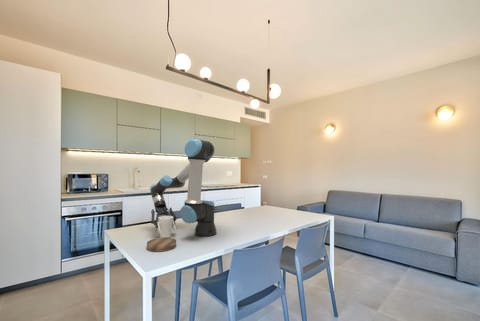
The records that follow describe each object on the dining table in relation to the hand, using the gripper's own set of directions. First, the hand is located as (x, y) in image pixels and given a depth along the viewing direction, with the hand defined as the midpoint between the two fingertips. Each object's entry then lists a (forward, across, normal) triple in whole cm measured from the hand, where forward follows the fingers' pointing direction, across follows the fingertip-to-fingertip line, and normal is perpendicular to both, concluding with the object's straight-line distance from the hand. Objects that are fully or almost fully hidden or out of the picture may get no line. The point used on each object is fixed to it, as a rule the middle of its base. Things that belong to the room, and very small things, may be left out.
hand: (167, 230), depth 145 cm
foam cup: (+1, 0, -6) cm, 6 cm away
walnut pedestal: (+13, +8, +6) cm, 17 cm away
